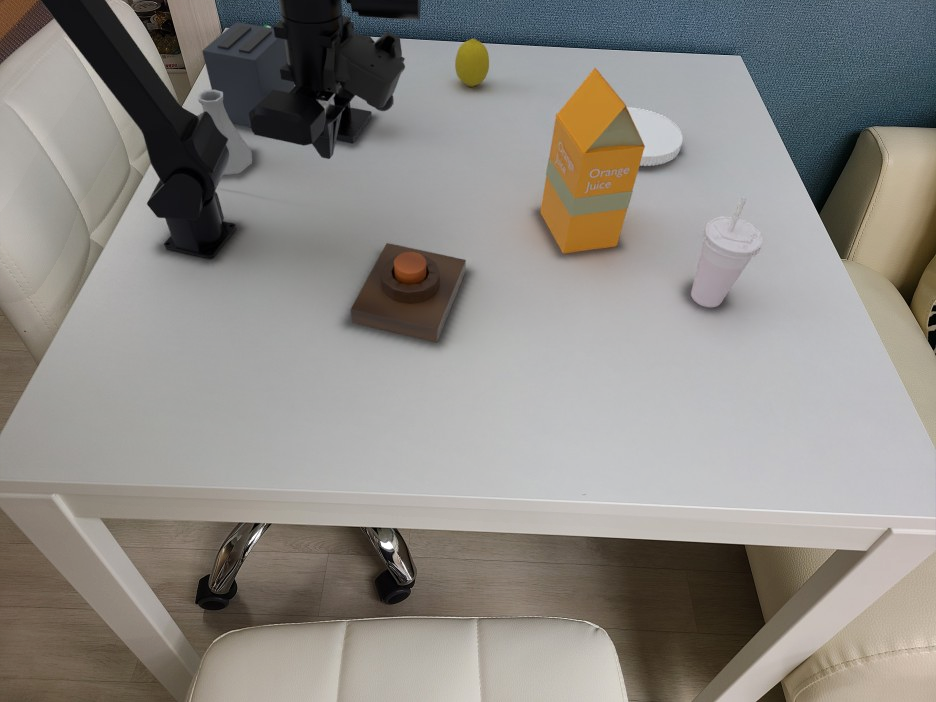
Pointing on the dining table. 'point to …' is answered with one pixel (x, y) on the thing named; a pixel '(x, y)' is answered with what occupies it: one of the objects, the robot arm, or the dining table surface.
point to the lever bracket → (352, 123)
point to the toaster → (246, 68)
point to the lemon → (472, 62)
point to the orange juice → (591, 168)
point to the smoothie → (724, 256)
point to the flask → (226, 131)
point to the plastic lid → (656, 136)
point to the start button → (410, 268)
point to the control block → (409, 295)
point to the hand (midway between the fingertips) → (327, 156)
